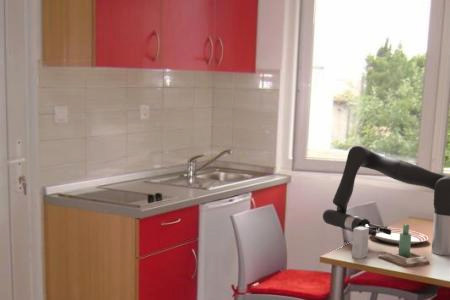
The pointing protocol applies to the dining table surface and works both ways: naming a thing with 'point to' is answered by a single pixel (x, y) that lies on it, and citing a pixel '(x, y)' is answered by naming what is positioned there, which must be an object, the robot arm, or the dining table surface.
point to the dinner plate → (395, 236)
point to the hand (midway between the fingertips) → (383, 233)
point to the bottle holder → (405, 259)
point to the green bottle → (405, 242)
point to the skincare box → (360, 242)
